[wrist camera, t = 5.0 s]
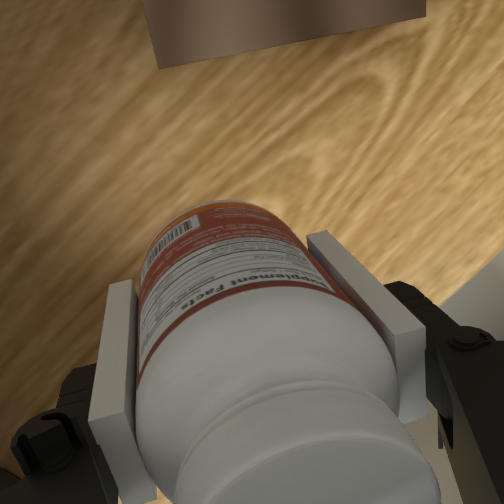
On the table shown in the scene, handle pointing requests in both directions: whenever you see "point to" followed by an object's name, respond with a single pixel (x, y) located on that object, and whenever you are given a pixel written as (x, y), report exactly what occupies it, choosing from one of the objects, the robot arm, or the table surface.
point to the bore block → (259, 24)
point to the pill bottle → (263, 373)
